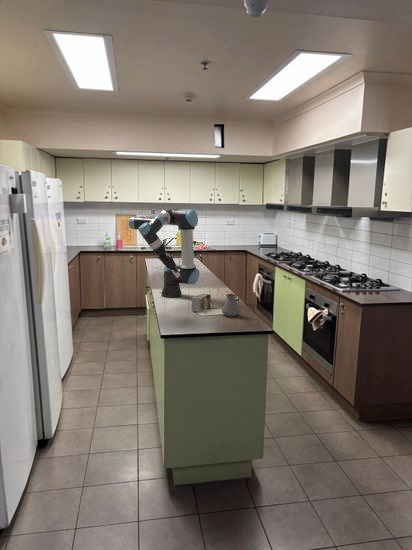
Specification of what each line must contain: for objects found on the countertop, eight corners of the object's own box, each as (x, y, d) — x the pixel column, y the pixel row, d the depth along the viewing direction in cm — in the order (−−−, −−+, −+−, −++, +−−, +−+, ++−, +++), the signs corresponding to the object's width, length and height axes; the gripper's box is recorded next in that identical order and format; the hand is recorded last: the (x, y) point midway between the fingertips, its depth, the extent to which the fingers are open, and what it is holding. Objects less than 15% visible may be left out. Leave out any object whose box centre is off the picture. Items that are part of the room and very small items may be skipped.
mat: (195, 310, 258) (195, 310, 258) (221, 309, 264) (221, 308, 264) (201, 316, 247) (201, 315, 247) (228, 314, 253) (228, 313, 253)
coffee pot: (219, 312, 255) (220, 289, 251) (236, 311, 258) (237, 289, 254) (228, 323, 235) (230, 299, 231) (246, 323, 238) (248, 299, 234)
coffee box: (200, 298, 252) (210, 293, 266) (191, 297, 255) (202, 293, 269) (200, 312, 253) (210, 307, 268) (191, 311, 256) (202, 306, 270)
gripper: (147, 250, 242) (169, 280, 251) (158, 249, 232) (180, 280, 241) (155, 243, 246) (176, 272, 255) (167, 241, 235) (188, 272, 245)
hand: (178, 276), depth 248 cm, fingers closed
